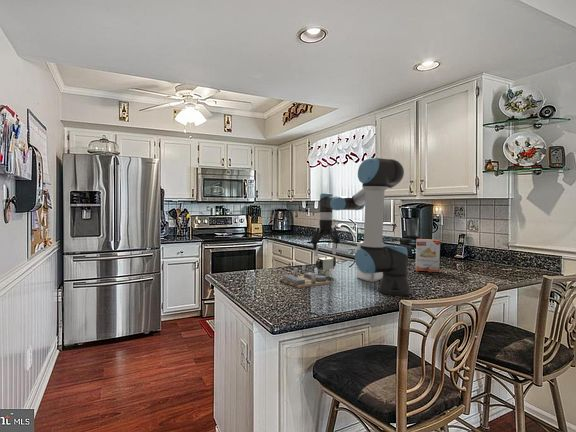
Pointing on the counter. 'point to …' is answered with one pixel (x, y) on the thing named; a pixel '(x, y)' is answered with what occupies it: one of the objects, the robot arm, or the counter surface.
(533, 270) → the counter surface
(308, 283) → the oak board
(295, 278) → the hinge leaves
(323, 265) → the pneumatic valve
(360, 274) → the soap dispenser
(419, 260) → the cracker box
